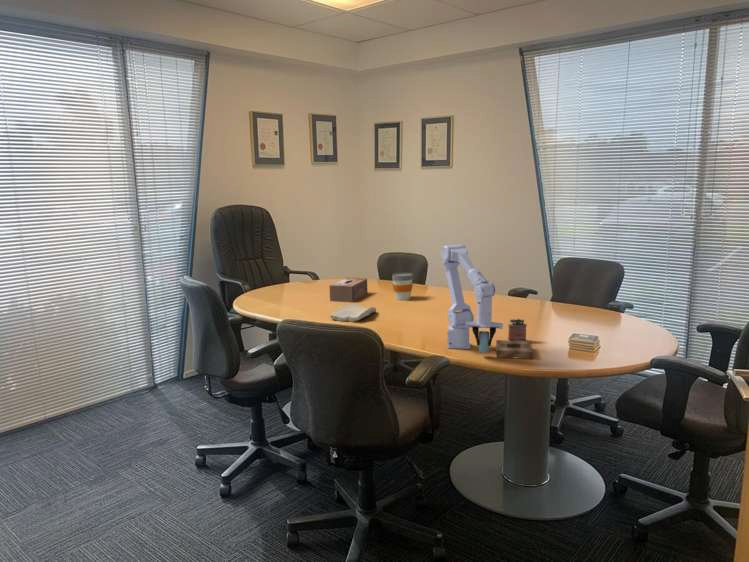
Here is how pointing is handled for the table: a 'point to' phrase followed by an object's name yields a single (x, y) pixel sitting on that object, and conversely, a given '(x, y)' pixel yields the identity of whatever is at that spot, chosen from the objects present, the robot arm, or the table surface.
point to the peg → (483, 341)
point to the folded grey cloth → (351, 312)
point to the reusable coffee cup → (402, 285)
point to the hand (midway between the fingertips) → (483, 345)
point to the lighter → (517, 330)
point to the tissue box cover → (348, 289)
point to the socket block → (514, 349)
